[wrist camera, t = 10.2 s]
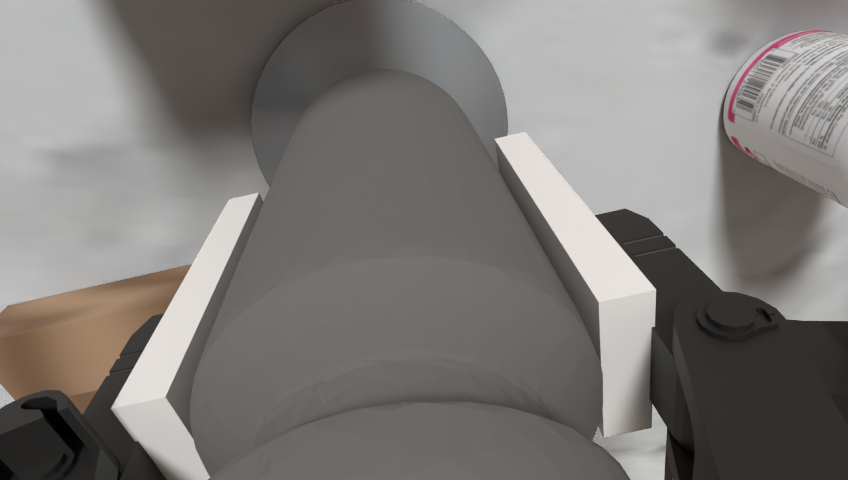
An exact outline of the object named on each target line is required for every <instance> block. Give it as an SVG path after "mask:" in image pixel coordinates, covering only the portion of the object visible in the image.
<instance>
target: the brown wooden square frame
mask: <svg viewBox="0 0 848 480" xmlns="http://www.w3.org/2000/svg"><path fill="white" fill-rule="evenodd" d="M191 266H192V264H191V265H187V266H183V267H178V268H174V269H169V270H165V271H160V272H156V273H152V274H147V275H143V276H138V277H134V278H129V279H125V280H121V281H116V282H112V283H107V284H103V285H98V286H94V287H90V288H85V289H81V290H76V291H72V292H68V293H63V294H59V295H54V296H50V297H45V298H41V299H37V300H32V301H28V302H23V303H19V304H14V305H10V306H7V307H6V308H5V309H4V310H3V311H2V312H1V313H0V383H1V385H2V386H3V387H4V388H5V389H6V390H7V391H8V393H9V394H10V395H11V396H12V397H13V398H14V399H15V401H16V400H18V399H20V398H22V397H24V396H26V395H29V394H33V393H36V392H40V391H44V390H60V391H61V392H63V393H64V394H65V395H67V396H68V397H69V399H70V400H71V401H72V402H73V404H74V405H75V406H76V407H77V409H78V410H79V411H80V412H81V414H82V415H83V413H84V411H85V410H86V408H87V407H88V405H89V403H90V402H91V400H92V399H93V397H94V395H95V394H96V392H97V390H98V389H99V387H100V386H101V384H102V382H103V381H104V379H105V378H106V376H109V375H110V373H109V371H110V369H111V368H112V366H113V365H114V363H115V361H116V360H117V359H120V356H119V355H120V353H121V352H122V350H123V348H124V347H125V345H126V344H127V342H128V340H129V339H130V337H131V335H132V334H133V333H135V332H136V331H137V330H138V329H139V328H140V327H141V326H142V325H143V324H144V323H145V322H146V321H147V320H148V319H149V318H151V317H152V316H154V315H159V314H163V313H165V312H166V310H167V308H168V306H169V305H170V303H171V301H172V299H173V298H174V296H175V294H176V292H177V291H178V289H179V287H180V285H181V283H182V282H183V280H184V278H185V276H186V275H187V273H188V271H189V269H190V268H191Z"/></svg>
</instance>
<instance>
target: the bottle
mask: <svg viewBox="0 0 848 480" xmlns="http://www.w3.org/2000/svg"><path fill="white" fill-rule="evenodd" d="M602 408H603V373H602V368H601V364H600V360H599V357H598V355H597V353H596V350H595V348H594V346H593V343H592V341H591V338H590V336H589V334H588V331H587V329H586V327H585V324H584V322H583V320H582V317H581V315H580V313H579V311H578V310H577V308H576V306H575V304H574V302H573V301H572V299H571V297H570V295H569V294H568V292H567V290H566V288H565V287H564V285H563V283H562V281H561V280H560V278H559V276H558V274H557V273H556V271H555V269H554V267H553V265H552V264H551V262H550V260H549V258H548V257H547V255H546V253H545V251H544V250H543V248H542V246H541V244H540V243H539V241H538V239H537V237H536V236H535V234H534V232H533V230H532V228H531V227H530V225H529V223H528V221H527V220H526V218H525V216H524V214H523V213H522V211H521V209H520V207H519V206H518V204H517V202H516V200H515V199H514V197H513V195H512V193H511V192H510V190H509V188H508V186H507V184H506V183H505V181H504V179H503V177H502V176H501V174H500V172H499V170H498V169H497V167H496V165H495V163H494V162H493V160H492V158H491V156H490V155H489V153H488V151H487V149H486V148H485V146H484V144H483V142H482V141H481V139H480V137H479V135H478V134H477V132H476V130H475V129H474V127H473V125H472V124H471V122H470V120H469V119H468V117H467V116H466V114H465V113H464V112H463V110H462V109H461V108H460V106H459V105H458V104H457V102H456V101H455V100H454V99H453V98H452V97H451V96H450V95H449V94H448V93H447V92H446V91H445V90H443V89H442V88H441V87H439V86H438V85H436V84H435V83H433V82H432V81H430V80H428V79H426V78H423V77H421V76H419V75H417V74H413V73H410V72H407V71H403V70H396V69H372V70H366V71H362V72H358V73H354V74H351V75H348V76H346V77H344V78H342V79H340V80H338V81H337V82H335V83H333V84H332V85H330V86H329V87H327V88H326V89H324V90H323V91H322V92H321V93H320V94H319V95H318V96H317V97H316V98H315V99H314V100H313V101H312V102H311V103H310V105H309V106H308V108H307V109H306V110H305V112H304V113H303V115H302V117H301V119H300V121H299V122H298V124H297V126H296V129H295V131H294V133H293V135H292V138H291V140H290V142H289V144H288V146H287V149H286V151H285V153H284V155H283V158H282V160H281V162H280V164H279V167H278V169H277V172H276V174H275V176H274V179H273V181H272V184H271V186H270V188H269V191H268V193H267V196H266V198H265V200H264V203H263V205H262V208H261V210H260V212H259V215H258V217H257V220H256V222H255V224H254V227H253V229H252V232H251V234H250V236H249V239H248V241H247V244H246V246H245V248H244V251H243V253H242V256H241V258H240V260H239V263H238V265H237V268H236V270H235V272H234V275H233V277H232V280H231V282H230V284H229V287H228V290H227V292H226V295H225V297H224V300H223V302H222V305H221V307H220V310H219V312H218V315H217V317H216V320H215V322H214V325H213V328H212V330H211V333H210V335H209V338H208V340H207V343H206V345H205V348H204V351H203V353H202V356H201V359H200V362H199V364H198V367H197V370H196V373H195V376H194V381H193V387H192V393H191V399H190V425H191V430H192V435H193V439H194V444H195V448H196V451H197V453H198V455H199V457H200V459H201V461H202V463H203V465H204V467H205V469H206V471H207V473H208V474H209V476H210V478H209V479H208V480H630V478H629V477H628V475H627V474H626V472H625V471H624V469H623V468H622V466H621V465H620V463H619V462H618V461H616V460H615V459H614V458H613V457H612V456H611V455H610V454H609V453H608V452H607V451H606V450H605V449H604V448H602V447H601V446H599V445H598V444H596V443H594V442H593V441H592V440H593V437H594V435H595V432H596V430H597V427H598V424H599V421H600V416H601V412H602Z"/></svg>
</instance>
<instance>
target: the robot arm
mask: <svg viewBox="0 0 848 480" xmlns="http://www.w3.org/2000/svg"><path fill="white" fill-rule="evenodd" d="M494 140H495V147H496V155H497V162H498V169H499V172H500V174H501V176H502V177H503V179H504V181H505V183H506V184H507V186H508V188H509V190H510V192H511V193H512V195H513V197H514V199H515V200H516V202H517V204H518V206H519V207H520V209H521V211H522V213H523V214H524V216H525V218H526V220H527V221H528V223H529V225H530V227H531V228H532V230H533V232H534V234H535V236H536V237H537V239H538V241H539V243H540V244H541V246H542V248H543V250H544V251H545V253H546V255H547V257H548V258H549V260H550V262H551V264H552V265H553V267H554V269H555V271H556V273H557V274H558V276H559V278H560V280H561V281H562V283H563V285H564V287H565V288H566V290H567V292H568V294H569V295H570V297H571V299H572V301H573V302H574V304H575V306H576V308H577V310H578V311H579V313H580V315H581V317H582V320H583V322H584V324H585V327H586V329H587V331H588V334H589V336H590V338H591V341H592V343H593V346H594V348H595V350H596V353H597V355H598V357H599V360H600V364H601V368H602V373H603V408H602V412H601V416H600V421H599V424H598V427H599V429H600V431H601V433H602V435H603V437H604V438H605V437H610V436H615V435H619V434H624V433H629V432H634V431H638V430H643V429H648V428H651V426H652V403H653V405H654V407H655V408H656V410H657V412H658V413H659V415H660V416H661V418H662V420H663V421H664V423H665V425H666V426H667V441H666V458H665V480H672V479H673V480H848V321H798V320H786V319H785V318H784V317H783V315H782V314H781V313H780V312H779V311H778V310H777V309H776V308H774V307H772V306H771V305H769V304H767V303H765V302H763V301H762V300H760V299H758V298H754V297H751V296H747V295H744V294H740V293H737V292H723V291H722V290H721V289H720V288H719V287H718V286H717V285H716V284H715V283H714V282H713V281H712V280H711V279H710V278H709V277H708V276H707V275H706V274H705V273H704V272H703V271H701V270H700V269H699V268H698V267H697V266H696V265H695V264H694V263H693V262H692V261H691V260H690V259H689V258H688V257H687V256H686V255H685V254H684V253H683V252H682V251H681V250H680V249H679V248H677V249H676V245H675V244H674V243H673V242H672V241H671V240H670V239H669V238H668V237H667V236H664V235H663V232H662V231H661V230H660V229H659V228H658V227H657V226H656V225H655V224H654V223H653V222H651V221H650V220H649V219H648V218H646V217H644V216H641V215H639V214H637V213H634V212H632V211H630V210H627V209H622V210H617V211H613V212H608V213H604V214H599V215H594V214H593V213H592V212H591V211H590V209H589V208H588V207H587V206H586V205H585V203H584V202H583V201H582V200H581V199H580V197H579V196H578V195H577V194H576V193H575V191H574V190H573V189H572V188H571V187H570V185H569V184H568V183H567V182H566V181H565V179H564V178H563V177H562V176H561V174H560V173H559V172H558V171H557V170H556V168H555V167H554V166H553V165H552V164H551V162H550V161H549V160H548V159H547V158H546V156H545V155H544V154H543V153H542V152H541V150H540V149H539V148H538V147H537V146H536V144H535V143H534V142H533V141H532V140H531V138H530V137H529V136H528V135H527V134H526V132H522V133H518V134H514V135H509V136H505V137H500V138H496V139H494ZM262 205H263V201H262V198H261V196H260V194H259V193H255V194H250V195H246V196H241V197H237V198H233V199H229V200H228V202H227V204H226V206H225V207H224V209H223V211H222V213H221V214H220V216H219V218H218V220H217V222H216V223H215V225H214V227H213V229H212V230H211V232H210V234H209V236H208V237H207V239H206V241H205V243H204V245H203V246H202V248H201V250H200V252H199V253H198V255H197V257H196V259H195V260H194V262H193V264H192V266H191V268H190V269H189V271H188V273H187V275H186V276H185V278H184V280H183V282H182V283H181V285H180V287H179V289H178V291H177V292H176V294H175V296H174V298H173V299H172V301H171V303H170V305H169V306H168V308H167V310H166V312H165V313H163V314H159V315H154V316H152V317H151V318H149V319H148V320H147V321H146V322H145V323H144V324H143V325H142V326H141V327H140V328H139V329H138V330H137V331H136V332H135V333H133V334H132V335H131V337H130V339H129V340H128V342H127V344H126V345H125V347H124V348H123V350H122V352H121V353H120V355H119V356H120V359H117V360H116V361H115V363H114V365H113V366H112V368H111V369H110V371H109V373H110V375H109V376H106V378H105V379H104V381H103V382H102V384H101V386H100V387H99V389H98V390H97V392H96V394H95V395H94V397H93V399H92V400H91V402H90V403H89V405H88V407H87V408H86V410H85V411H84V413H83V415H82V414H81V412H80V411H79V410H78V409H77V407H76V406H75V405H74V404H73V402H72V401H71V400H70V399H69V397H68V396H67V395H65V394H64V393H63V392H61V391H60V390H44V391H40V392H36V393H33V394H29V395H26V396H24V397H22V398H20V399H18V400H16V401H14V402H12V403H10V404H8V405H6V406H4V407H2V408H1V409H0V480H208V479H209V478H210V476H209V474H208V473H207V471H206V469H205V467H204V465H203V463H202V461H201V459H200V457H199V455H198V453H197V451H196V448H195V444H194V439H193V435H192V430H191V425H190V399H191V393H192V387H193V381H194V376H195V373H196V370H197V367H198V364H199V362H200V359H201V356H202V353H203V351H204V348H205V345H206V343H207V340H208V338H209V335H210V333H211V330H212V328H213V325H214V322H215V320H216V317H217V315H218V312H219V310H220V307H221V305H222V302H223V300H224V297H225V295H226V292H227V290H228V287H229V284H230V282H231V280H232V277H233V275H234V272H235V270H236V268H237V265H238V263H239V260H240V258H241V256H242V253H243V251H244V248H245V246H246V244H247V241H248V239H249V236H250V234H251V232H252V229H253V227H254V224H255V222H256V220H257V217H258V215H259V212H260V210H261V208H262Z"/></svg>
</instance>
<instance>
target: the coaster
mask: <svg viewBox="0 0 848 480" xmlns="http://www.w3.org/2000/svg"><path fill="white" fill-rule="evenodd" d="M372 69H396V70H403V71H407V72H410V73H413V74H417V75H419V76H421V77H423V78H426V79H428V80H430V81H432V82H433V83H435V84H436V85H438V86H439V87H441V88H442V89H443V90H445V91H446V92H447V93H448V94H449V95H450V96H451V97H452V98H453V99H454V100H455V101H456V102H457V104H458V105H459V106H460V108H461V109H462V110H463V112H464V113H465V114H466V116H467V117H468V119H469V120H470V122H471V124H472V125H473V127H474V129H475V130H476V132H477V134H478V135H479V137H480V139H481V141H482V142H483V144H484V146H485V148H486V149H487V151H488V153H489V155H490V156H491V158H492V160H493V162H494V163H495V165H496V167H497V169H498V162H497V155H496V147H495V140H494V139H496V138H500V137H505V136H507V132H508V119H507V108H506V103H505V97H504V93H503V90H502V87H501V84H500V81H499V78H498V76H497V74H496V72H495V70H494V68H493V66H492V64H491V62H490V61H489V59H488V58H487V57H486V55H485V54H484V52H483V51H482V49H481V48H480V47H479V46H478V45H477V44H476V42H475V41H474V40H473V39H472V38H471V37H470V36H469V35H468V34H467V33H466V32H465V31H463V30H462V29H461V28H460V27H459V26H457V25H456V24H455V23H454V22H453V21H451V20H449V19H448V18H446V17H445V16H443V15H441V14H440V13H438V12H436V11H434V10H431V9H429V8H427V7H425V6H422V5H420V4H416V3H412V2H409V1H405V0H350V1H346V2H343V3H340V4H336V5H333V6H330V7H328V8H326V9H324V10H322V11H320V12H318V13H316V14H314V15H313V16H311V17H310V18H308V19H307V20H305V21H304V22H302V23H301V24H299V25H298V26H297V27H296V28H295V29H294V30H293V31H292V32H291V33H290V34H289V35H288V36H286V38H285V39H284V40H283V41H282V42H281V43H280V45H279V46H278V47H277V48H276V50H275V51H274V52H273V53H272V55H271V57H270V59H269V60H268V62H267V64H266V65H265V67H264V69H263V71H262V74H261V76H260V79H259V81H258V84H257V87H256V91H255V95H254V99H253V105H252V115H251V127H252V139H253V145H254V150H255V154H256V157H257V160H258V163H259V166H260V169H261V171H262V173H263V175H264V177H265V179H266V181H267V183H268V185H269V186H271V184H272V181H273V179H274V176H275V174H276V172H277V169H278V167H279V164H280V162H281V160H282V158H283V155H284V153H285V151H286V149H287V146H288V144H289V142H290V140H291V138H292V135H293V133H294V131H295V129H296V126H297V124H298V122H299V121H300V119H301V117H302V115H303V113H304V112H305V110H306V109H307V108H308V106H309V105H310V103H311V102H312V101H313V100H314V99H315V98H316V97H317V96H318V95H319V94H320V93H321V92H322V91H323V90H324V89H326V88H327V87H329V86H330V85H332V84H333V83H335V82H337V81H338V80H340V79H342V78H344V77H346V76H348V75H351V74H354V73H358V72H362V71H366V70H372ZM498 170H499V169H498Z"/></svg>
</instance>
